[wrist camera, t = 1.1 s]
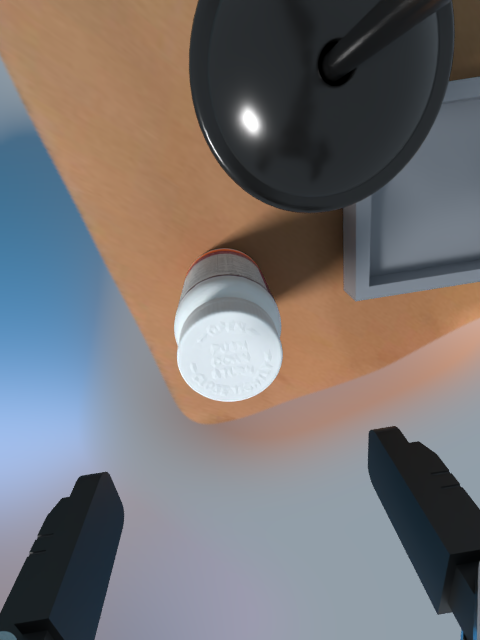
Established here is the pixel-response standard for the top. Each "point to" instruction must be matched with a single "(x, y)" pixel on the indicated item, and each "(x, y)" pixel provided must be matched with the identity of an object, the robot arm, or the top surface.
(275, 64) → the drinking cup
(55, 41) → the top surface
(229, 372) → the pill bottle
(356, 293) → the tray
